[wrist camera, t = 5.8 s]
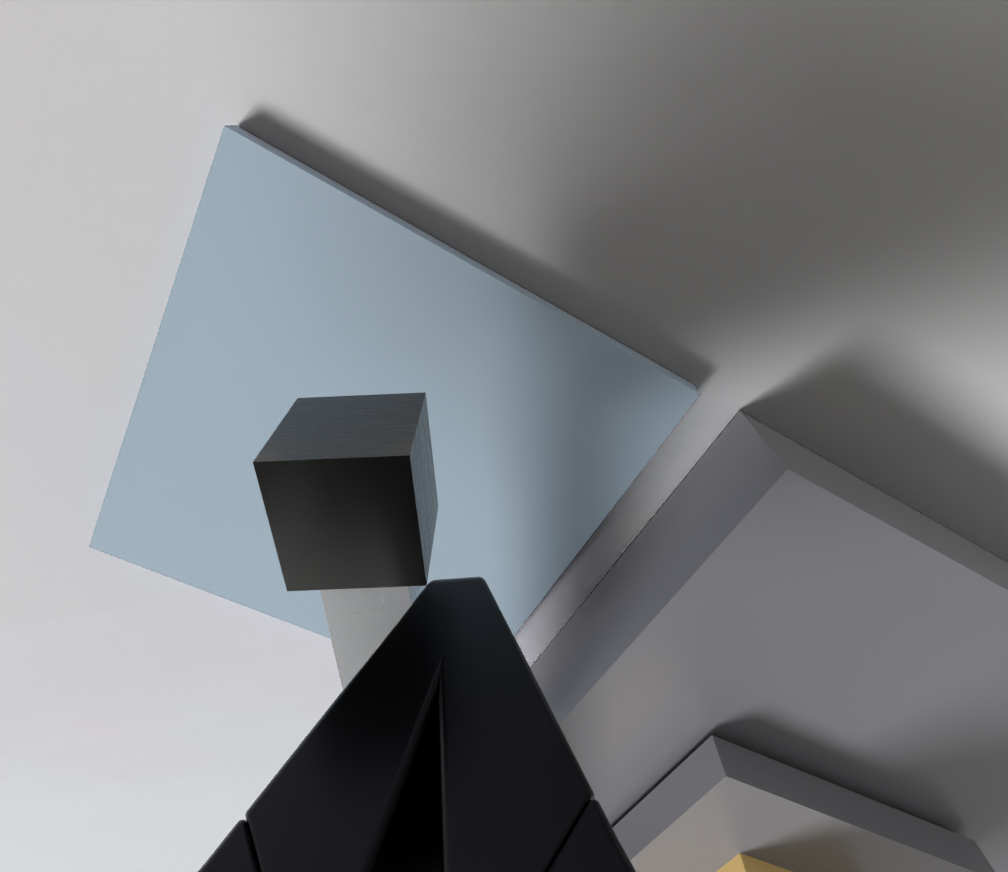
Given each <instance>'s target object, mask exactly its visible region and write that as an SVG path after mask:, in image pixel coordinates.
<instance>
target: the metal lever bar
mask: <svg viewBox="0 0 1008 872" xmlns="http://www.w3.org/2000/svg"><path fill="white" fill-rule="evenodd" d="M253 465H254V469H255V472H256V476H257V480H258V484H259V487H260V491H261V495H262V499H263V502H264V506H265V510H266V514H267V517H268V521H269V525H270V529H271V533H272V536H273V540H274V544H275V548H276V551H277V555H278V559H279V563H280V566H281V570H282V574H283V578H284V582H285V585H286V589H287V591H308V590H320V593H321V597H322V601H323V606H324V610H325V614H326V619H327V623H328V627H329V631H330V636H331V640H332V644H333V648H334V653H335V657H336V661H337V666H338V670H339V674H340V678H341V683H342V687H343V690H344V689H345V687H346V686H347V685H348V684H349V682H350V681H351V680H352V679H353V677H354V676H355V675H356V674H357V672H358V671H359V670H360V669H361V667H362V666H363V665H364V664H365V662H366V661H367V660H368V658H369V657H370V656H371V655H372V653H373V652H374V651H375V650H376V648H377V647H378V646H379V645H380V643H381V642H382V641H383V640H384V638H385V637H386V636H387V635H388V633H389V632H390V631H391V630H392V628H393V627H394V626H395V625H396V623H397V622H398V621H399V620H400V618H401V617H402V616H403V614H404V613H405V612H406V611H407V609H408V608H409V607H410V606H411V604H412V603H413V602H414V601H415V599H416V598H417V597H418V596H419V594H420V593H421V592H422V591H423V589H424V588H425V587H426V586H427V580H428V573H429V566H430V560H431V553H432V546H433V539H434V533H435V526H436V519H437V512H438V499H437V490H436V481H435V472H434V463H433V454H432V445H431V436H430V427H429V418H428V409H427V400H426V392H423V393H400V394H378V395H355V396H332V397H309V398H297V400H296V401H295V402H294V404H293V405H292V407H291V408H290V410H289V411H288V412H287V414H286V415H285V417H284V418H283V420H282V421H281V422H280V424H279V425H278V427H277V428H276V430H275V431H274V432H273V434H272V435H271V437H270V438H269V440H268V441H267V442H266V444H265V445H264V447H263V448H262V450H261V451H260V452H259V454H258V455H257V457H256V458H255V460H254V461H253Z"/></svg>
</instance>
